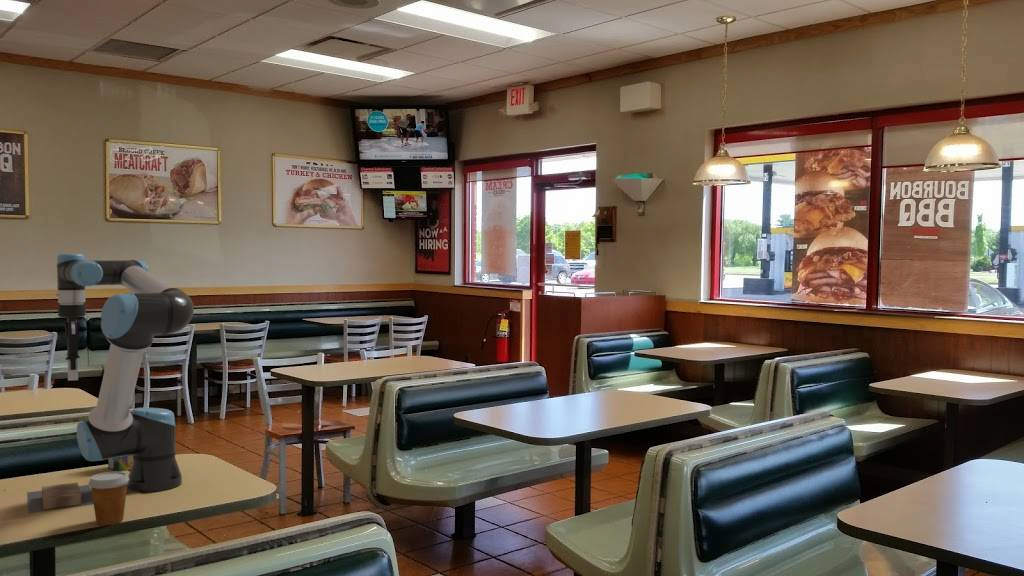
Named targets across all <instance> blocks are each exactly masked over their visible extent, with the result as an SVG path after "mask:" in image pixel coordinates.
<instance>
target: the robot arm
mask: <svg viewBox="0 0 1024 576" xmlns="http://www.w3.org/2000/svg"><path fill="white" fill-rule="evenodd" d="M149 269H150V268H149V266H148V264H147V262H145V261H144V260H136V259H130V260H129V259H128V260H127V259H122V260H101V259H99V260H92V259H91V260H90V259H89V260H88V259H87V260H85V255H84V254H82V253H60V254H58V255H57V257H56V274H57V275H56V276H57V277H56V279H57V280H56V281H57V292H55V295H54V296H55V297H57V303H58V306H57V316H58V317H60V318H66V320H67V321H66V322H64V329H65V336H66V350H67V352H66V355H67V357H65V360H66V361H67V381H68V382H69V381H79V359H80V355H79V337H80V328H81V325H80V322H79V321H78V319H77V318H82V317H85V316H86V315H87V313H86V304H85V303H86V287H92V286H118V285H119V286H123V287H125V288H126V289H128V290H129V291H130V292H125V293H119V294H118V293H117V294H116V293H115V294H113V295H111V296H110V297H108V298H107V299H106V300H105V303H104V305H103V307H102V310H101V314H100V319H101V321H100V329H101V331H102V334H103V335H104V336H105V338H106V340H107V341H108V342H109V344H110V345H109V350H108V354H107V359H106V364H105V368H104V371H103V372H104V373H103V376H102V381H101V385H100V389H99V394H98V399H97V402H96V406H95V407H94V408H93V409H91V410H89V414H88V416H87V420H82V421H80V422H79V421H78V423H77V426H76V437H77V438H76V440H77V444H78V447H79V450H80V453H81V455H82V456H83V458H84V459H85V461H88V462H97V461H98V462H99V461H104V460H108V459H110V458H116V457H121V456H127V455H133V464H132V467H131V470H129V474H128V477H129V481H128V483H127V490H130V491H135V492H140V493H148V492H149V493H150V492H161V491H165V490H166V489H167V490H170V488H171V489H174V488H177V487H179V486H181V485H182V483H183V480H182V479H183V476H182V473H181V469H180V467H179V465H178V461H177V459H176V421H175V420H176V419H175V414H174V412H173V411H172V410H169V409H167V408H161V407H159V408H158V407H136V408H133V409H132V411H131V412H130V410H131V405H132V401H133V397H134V395H135V389H136V385H137V381H138V377H139V373H140V369H141V365H142V362H143V357H144V352H145V350H147V349H149V347H151V346H152V345H153V341H154V337H155V336H162V335H163V336H164V335H171V334H174V333H178V332H180V331H182V330H183V329H184V328H186V327H187V325H189V323H190V322H191V320H192V319H193V317H194V308H195V306H194V303H193V301H192V299H191V297H190V295H189V294H187V293H186V292H185V291H183V290H182V289H180V288H178V287H171V286H169V285H168V284H166V282H163V281H162V280H160V279H159V278H157V277H156V276H155V275H153V274H152V273H150V270H149ZM178 485H179V486H178ZM176 486H177V487H176Z"/></svg>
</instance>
